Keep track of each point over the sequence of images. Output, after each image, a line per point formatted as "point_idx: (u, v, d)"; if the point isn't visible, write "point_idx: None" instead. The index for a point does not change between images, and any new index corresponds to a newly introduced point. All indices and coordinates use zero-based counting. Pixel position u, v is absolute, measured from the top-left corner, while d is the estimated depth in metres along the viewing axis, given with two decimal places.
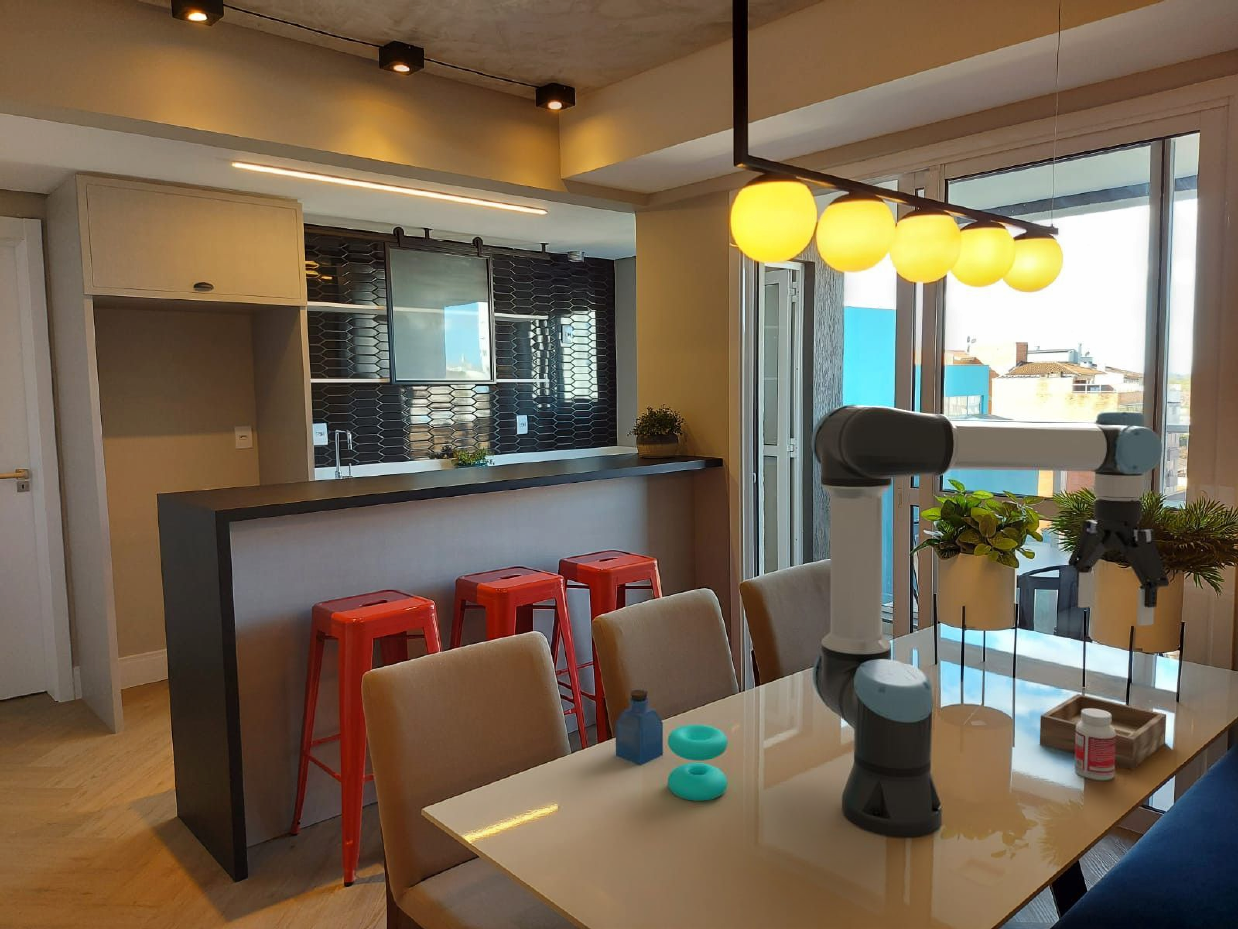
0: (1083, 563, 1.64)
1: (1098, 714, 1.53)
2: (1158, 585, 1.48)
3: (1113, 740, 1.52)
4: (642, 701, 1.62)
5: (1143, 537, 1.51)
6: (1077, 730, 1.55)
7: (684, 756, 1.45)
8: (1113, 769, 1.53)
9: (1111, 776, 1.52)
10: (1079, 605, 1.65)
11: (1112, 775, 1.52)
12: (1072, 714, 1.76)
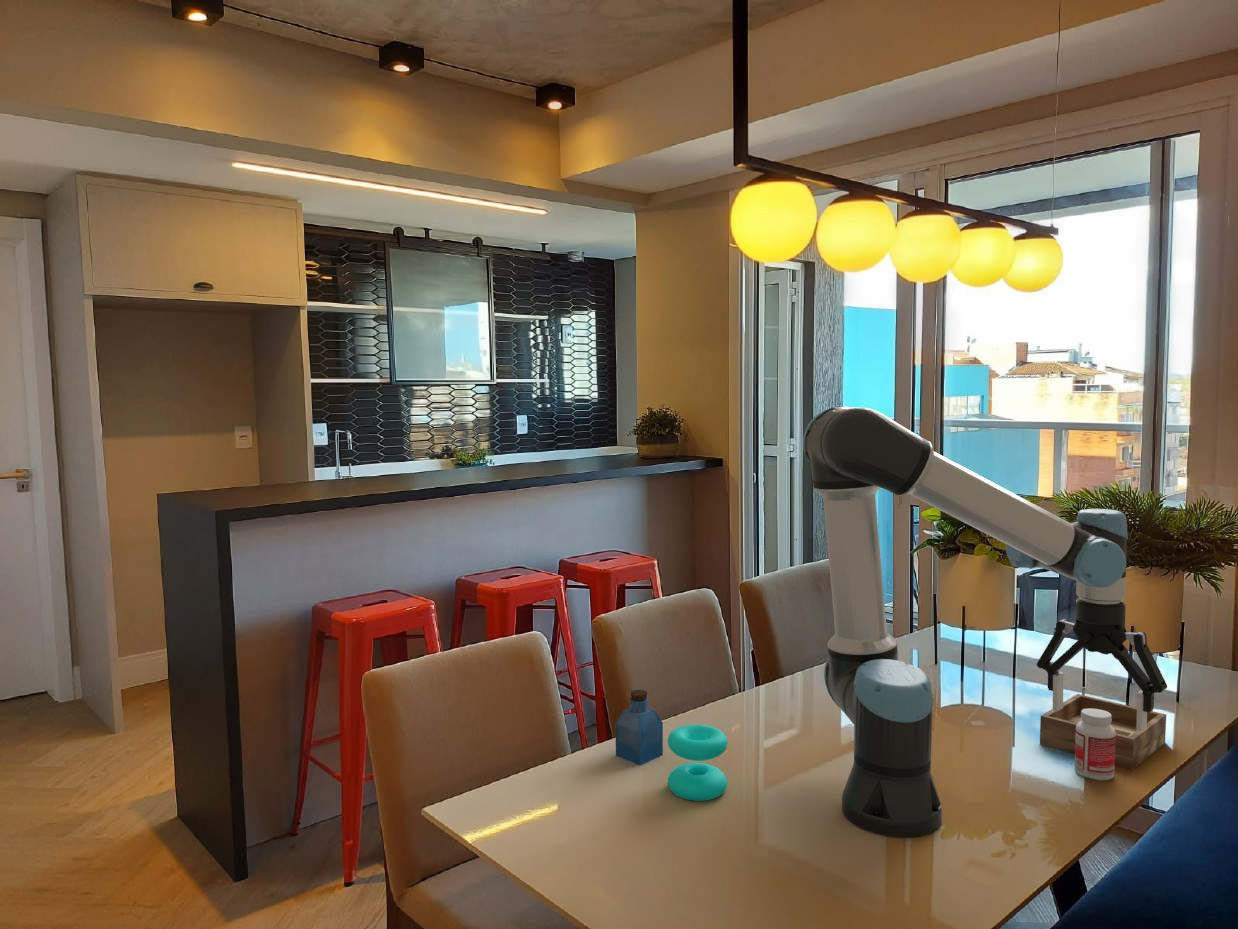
0: (1058, 665, 1.57)
1: (1098, 714, 1.53)
2: (1162, 690, 1.46)
3: (1113, 740, 1.52)
4: (642, 701, 1.62)
5: (1141, 641, 1.47)
6: (1077, 730, 1.55)
7: (684, 756, 1.45)
8: (1113, 769, 1.53)
9: (1111, 776, 1.52)
10: (1054, 709, 1.58)
11: (1112, 775, 1.52)
12: (1072, 714, 1.76)
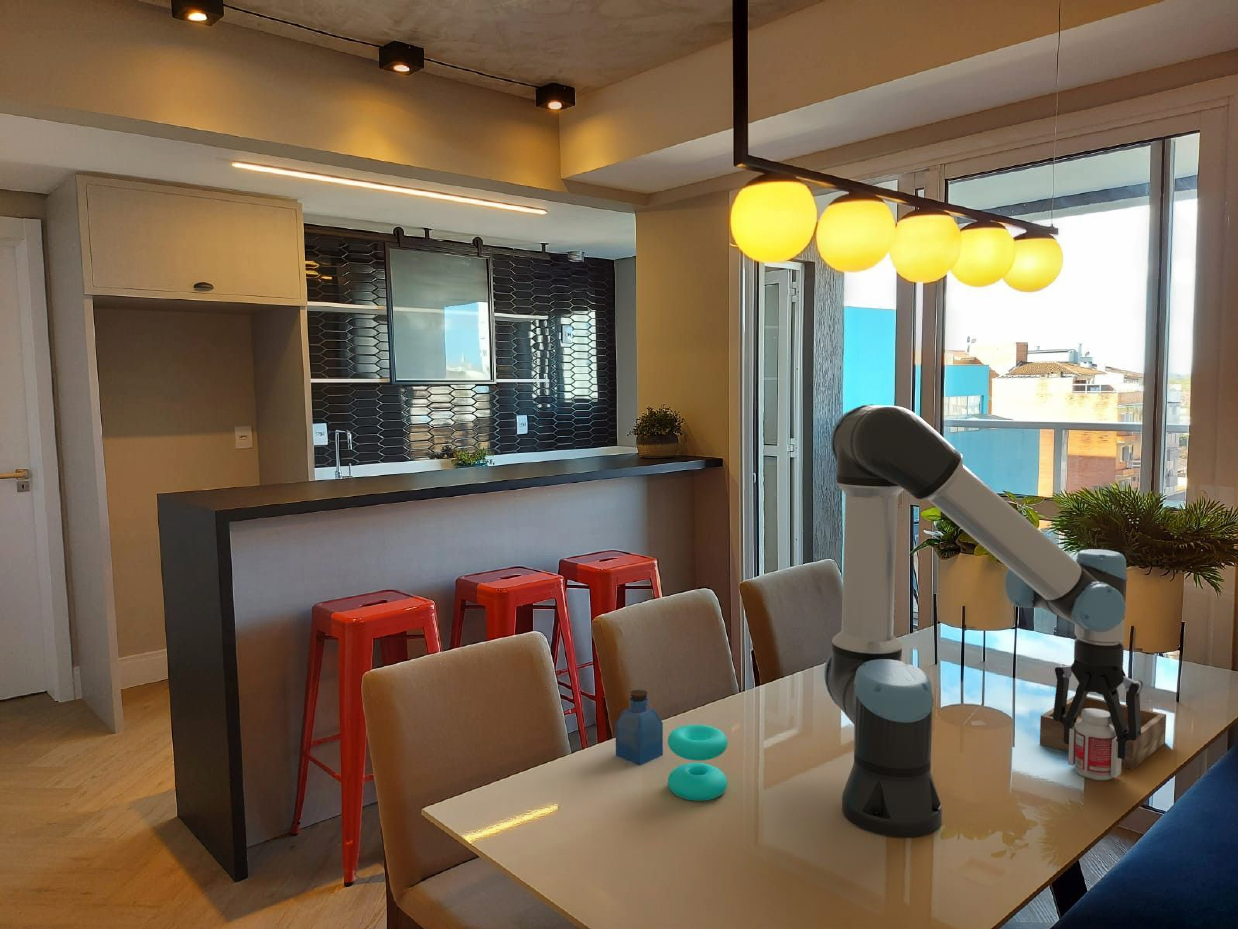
0: (1072, 716, 1.56)
1: (1099, 714, 1.53)
2: (1136, 738, 1.49)
3: None
4: (642, 701, 1.62)
5: (1136, 691, 1.48)
6: (1077, 730, 1.55)
7: (684, 756, 1.45)
8: None
9: None
10: (1070, 763, 1.56)
11: None
12: None
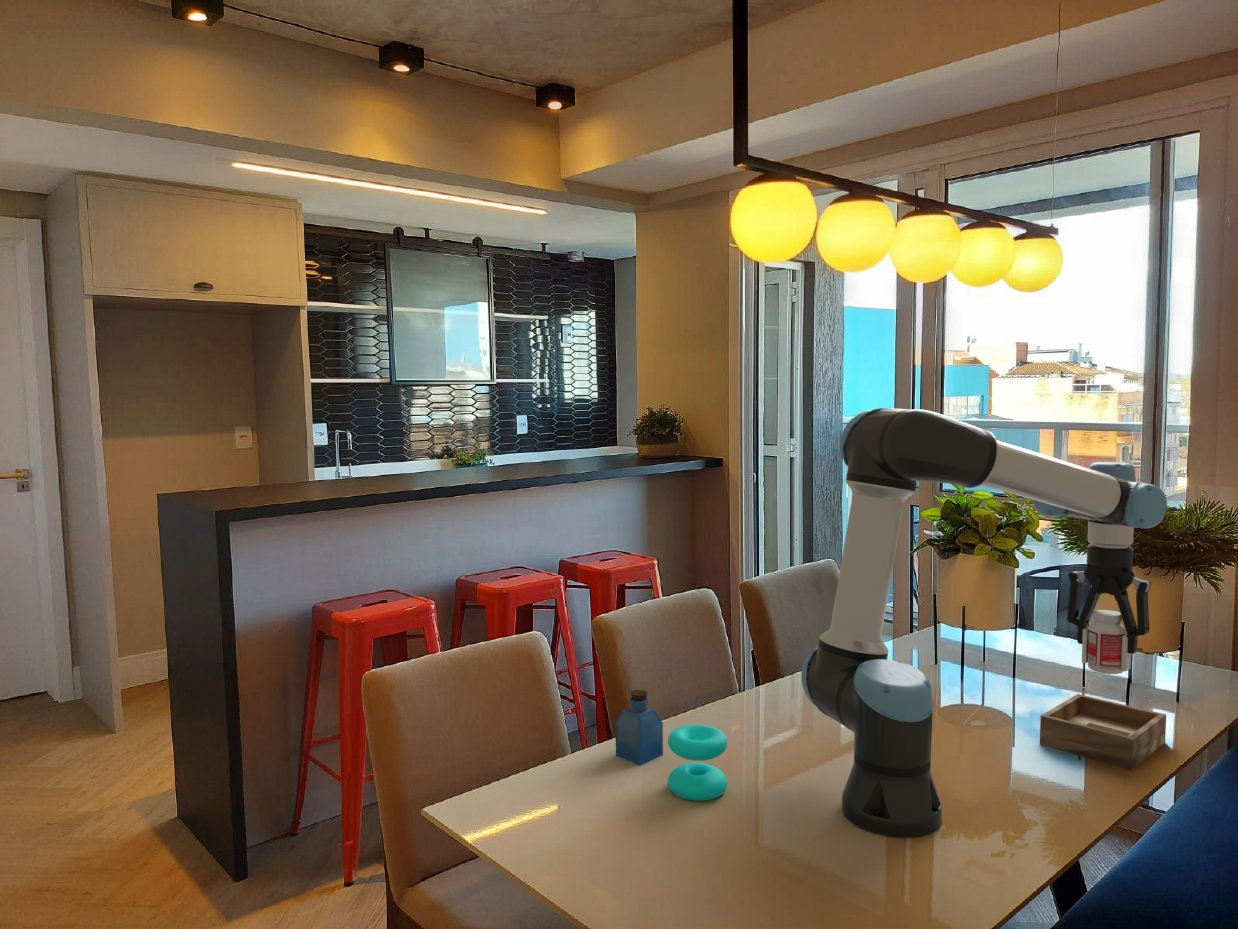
0: (1085, 617, 1.68)
1: (1110, 614, 1.66)
2: (1145, 633, 1.61)
3: None
4: (642, 701, 1.62)
5: (1145, 589, 1.61)
6: (1090, 629, 1.67)
7: (684, 756, 1.45)
8: None
9: None
10: (1083, 661, 1.69)
11: None
12: (1072, 714, 1.76)
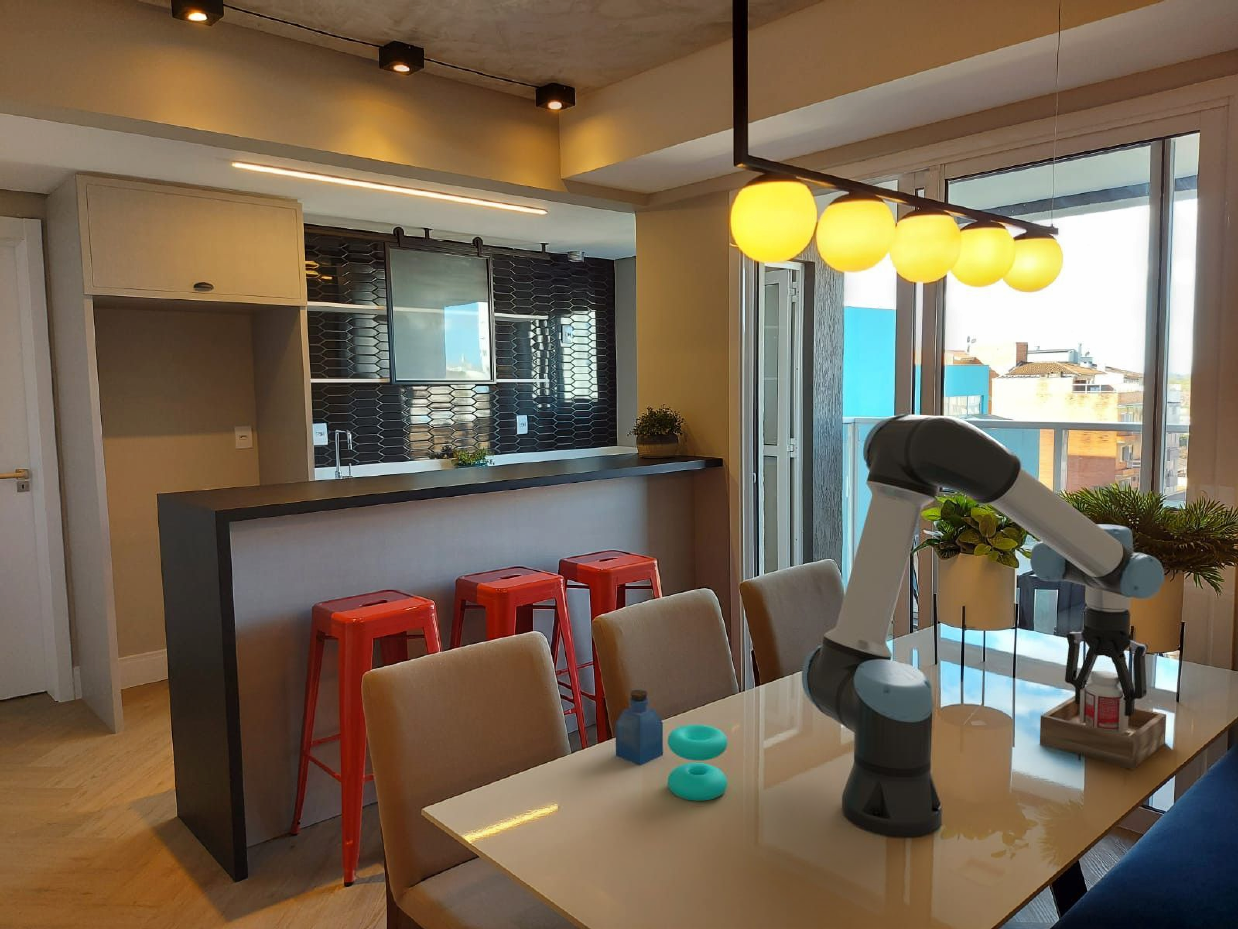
0: (1082, 678, 1.69)
1: (1107, 676, 1.66)
2: (1142, 697, 1.62)
3: None
4: (642, 701, 1.62)
5: (1142, 653, 1.62)
6: (1087, 690, 1.68)
7: (684, 756, 1.45)
8: None
9: None
10: (1081, 721, 1.70)
11: None
12: (1072, 714, 1.76)
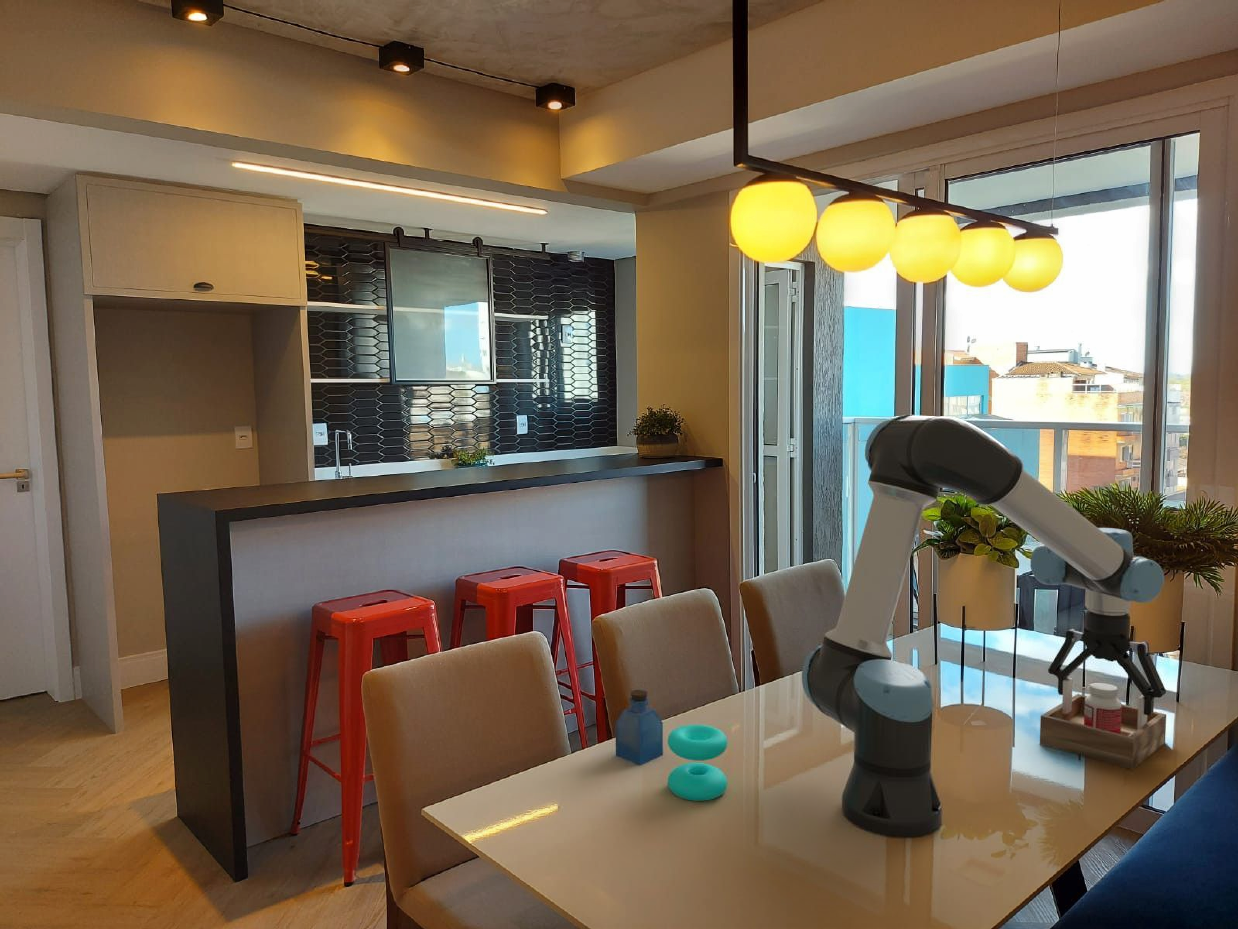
0: (1068, 672, 1.71)
1: (1106, 688, 1.67)
2: (1161, 695, 1.60)
3: (1119, 711, 1.66)
4: (642, 701, 1.62)
5: (1144, 650, 1.61)
6: (1086, 702, 1.68)
7: (684, 756, 1.45)
8: None
9: None
10: (1064, 712, 1.72)
11: None
12: (1072, 714, 1.76)
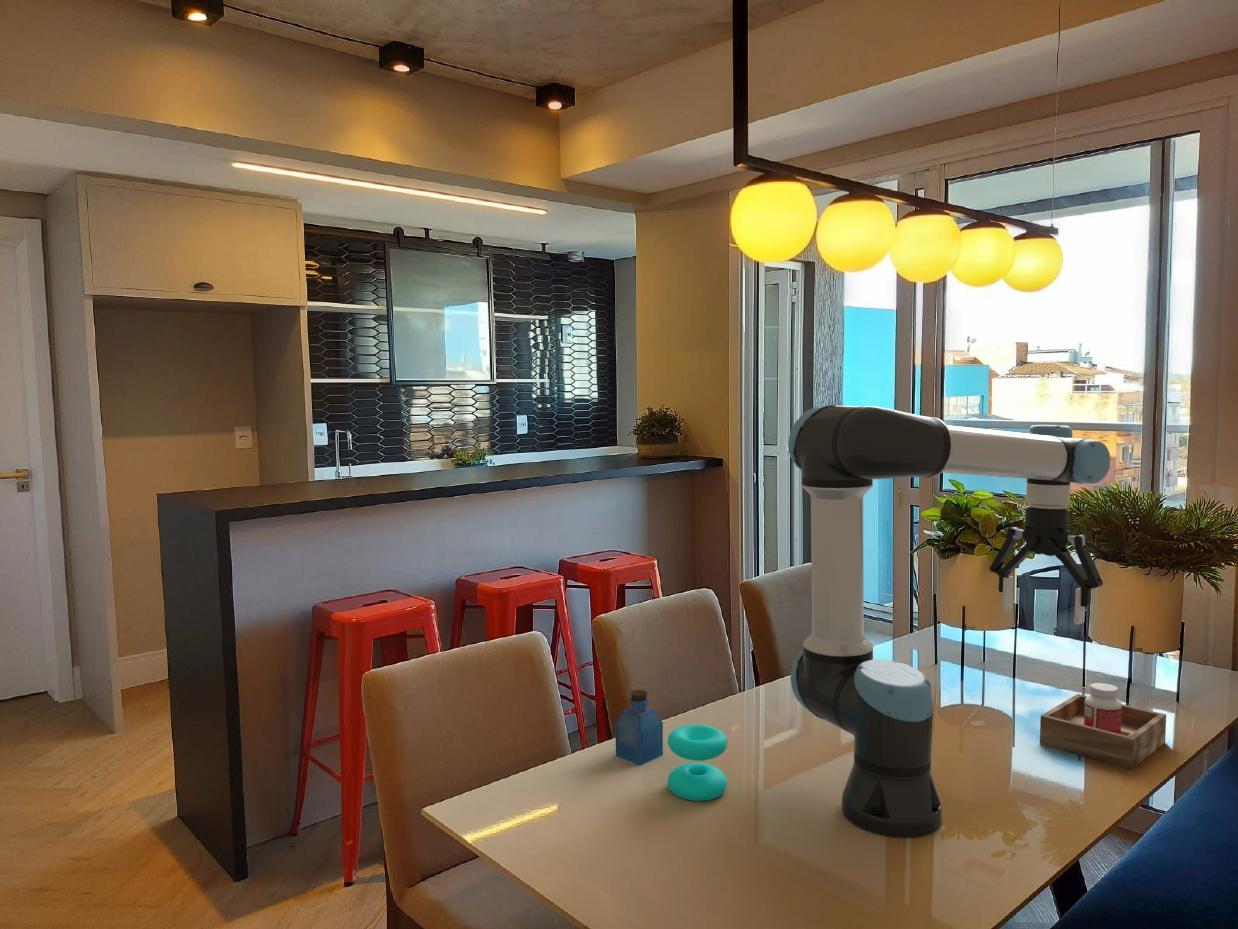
0: (1008, 568, 1.73)
1: (1106, 688, 1.67)
2: (1098, 586, 1.61)
3: (1119, 711, 1.66)
4: (642, 701, 1.62)
5: (1081, 542, 1.63)
6: (1086, 703, 1.68)
7: (684, 756, 1.45)
8: None
9: None
10: (1003, 608, 1.74)
11: None
12: (1072, 714, 1.76)
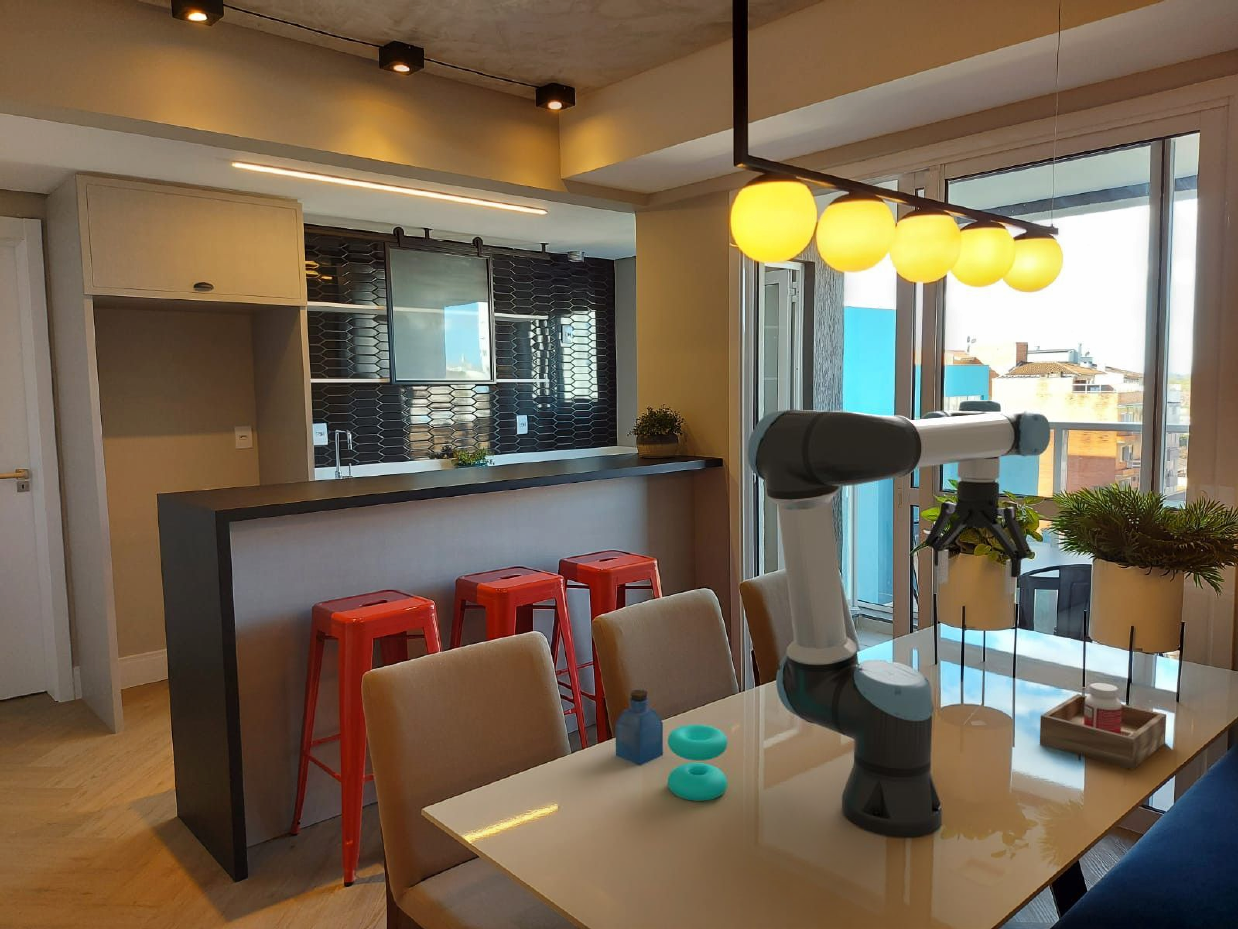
0: (942, 542, 1.76)
1: (1106, 688, 1.67)
2: (1026, 556, 1.64)
3: (1119, 711, 1.66)
4: (642, 701, 1.62)
5: (1010, 514, 1.66)
6: (1086, 703, 1.68)
7: (684, 756, 1.45)
8: None
9: None
10: (939, 581, 1.77)
11: None
12: (1072, 714, 1.76)
